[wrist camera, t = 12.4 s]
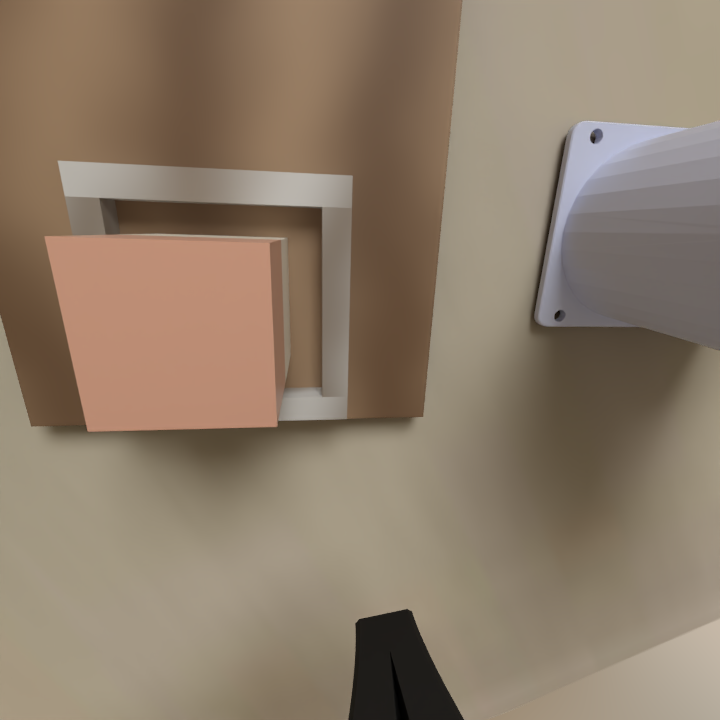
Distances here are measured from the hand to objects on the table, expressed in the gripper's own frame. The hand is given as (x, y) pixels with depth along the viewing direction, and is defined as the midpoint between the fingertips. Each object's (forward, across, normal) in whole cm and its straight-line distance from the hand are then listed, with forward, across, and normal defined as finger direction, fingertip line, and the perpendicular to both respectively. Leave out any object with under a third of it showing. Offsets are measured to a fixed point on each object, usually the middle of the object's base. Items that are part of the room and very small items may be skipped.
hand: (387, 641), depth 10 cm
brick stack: (+8, +4, -8) cm, 12 cm away
